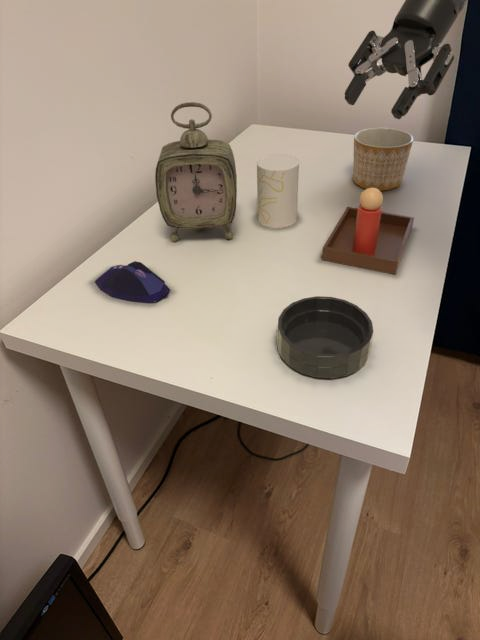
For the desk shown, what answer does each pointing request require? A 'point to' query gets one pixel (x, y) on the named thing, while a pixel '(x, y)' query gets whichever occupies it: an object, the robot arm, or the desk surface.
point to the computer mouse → (132, 283)
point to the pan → (324, 337)
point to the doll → (368, 221)
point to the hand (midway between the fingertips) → (371, 108)
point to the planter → (380, 157)
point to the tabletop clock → (196, 180)
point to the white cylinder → (277, 190)
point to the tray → (387, 247)
